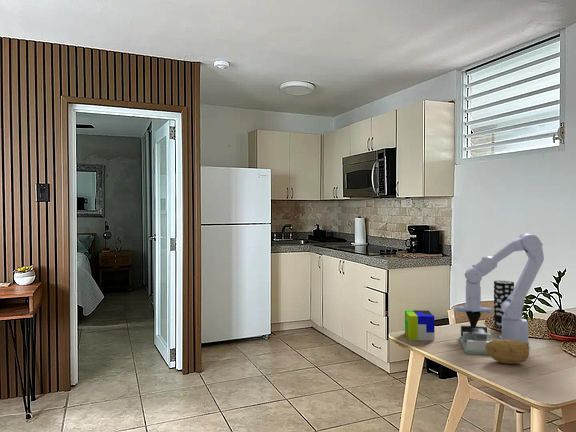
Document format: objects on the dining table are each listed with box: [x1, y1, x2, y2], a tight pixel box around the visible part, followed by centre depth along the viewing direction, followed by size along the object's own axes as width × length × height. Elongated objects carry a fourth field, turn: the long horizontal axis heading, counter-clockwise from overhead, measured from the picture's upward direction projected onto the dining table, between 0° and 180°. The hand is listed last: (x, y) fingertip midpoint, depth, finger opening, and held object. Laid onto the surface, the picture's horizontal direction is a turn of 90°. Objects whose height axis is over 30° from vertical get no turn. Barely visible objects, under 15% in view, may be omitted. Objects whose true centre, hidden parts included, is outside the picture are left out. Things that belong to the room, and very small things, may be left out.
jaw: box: [460, 325, 492, 341], centre depth 181 cm, size 10×8×4 cm
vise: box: [458, 336, 492, 356], centre depth 174 cm, size 12×18×4 cm, turn 167°
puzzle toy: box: [404, 309, 435, 341], centre depth 189 cm, size 10×10×10 cm
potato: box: [485, 339, 530, 365], centre depth 157 cm, size 10×14×8 cm
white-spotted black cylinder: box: [493, 280, 515, 327], centre depth 203 cm, size 8×8×20 cm
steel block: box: [472, 328, 487, 341], centre depth 173 cm, size 4×8×6 cm, turn 167°
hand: (473, 329), depth 186 cm, fingers closed, pressing on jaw
